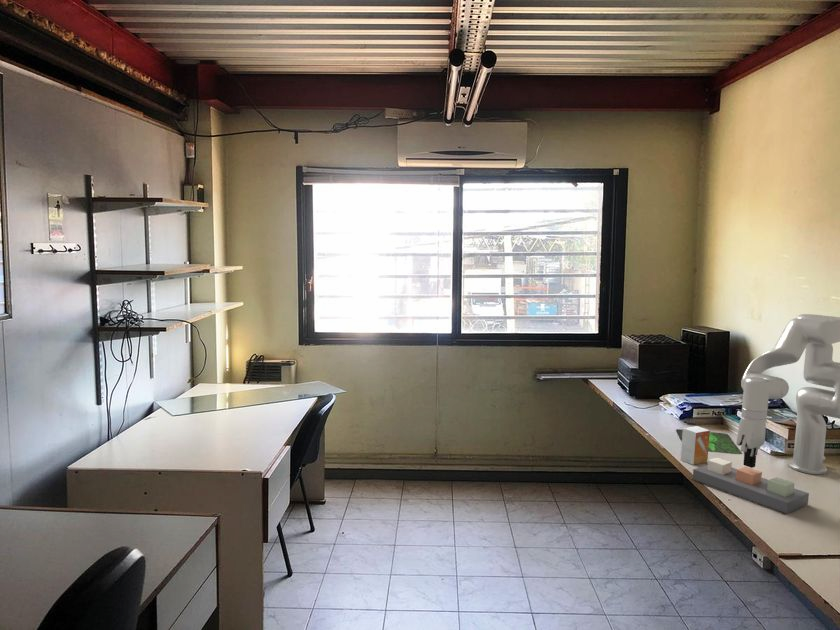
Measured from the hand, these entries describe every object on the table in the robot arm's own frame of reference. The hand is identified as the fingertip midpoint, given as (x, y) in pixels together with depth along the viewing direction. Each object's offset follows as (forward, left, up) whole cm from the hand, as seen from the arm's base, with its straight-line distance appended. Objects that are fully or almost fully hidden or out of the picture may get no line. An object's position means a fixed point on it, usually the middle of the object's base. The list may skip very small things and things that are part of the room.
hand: (749, 466), depth 202 cm
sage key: (0, +11, -7) cm, 13 cm away
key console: (0, 0, -9) cm, 9 cm away
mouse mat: (-38, -38, -10) cm, 55 cm away
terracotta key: (0, 0, -7) cm, 7 cm away
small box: (-11, -27, -10) cm, 31 cm away
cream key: (0, -10, -7) cm, 13 cm away
